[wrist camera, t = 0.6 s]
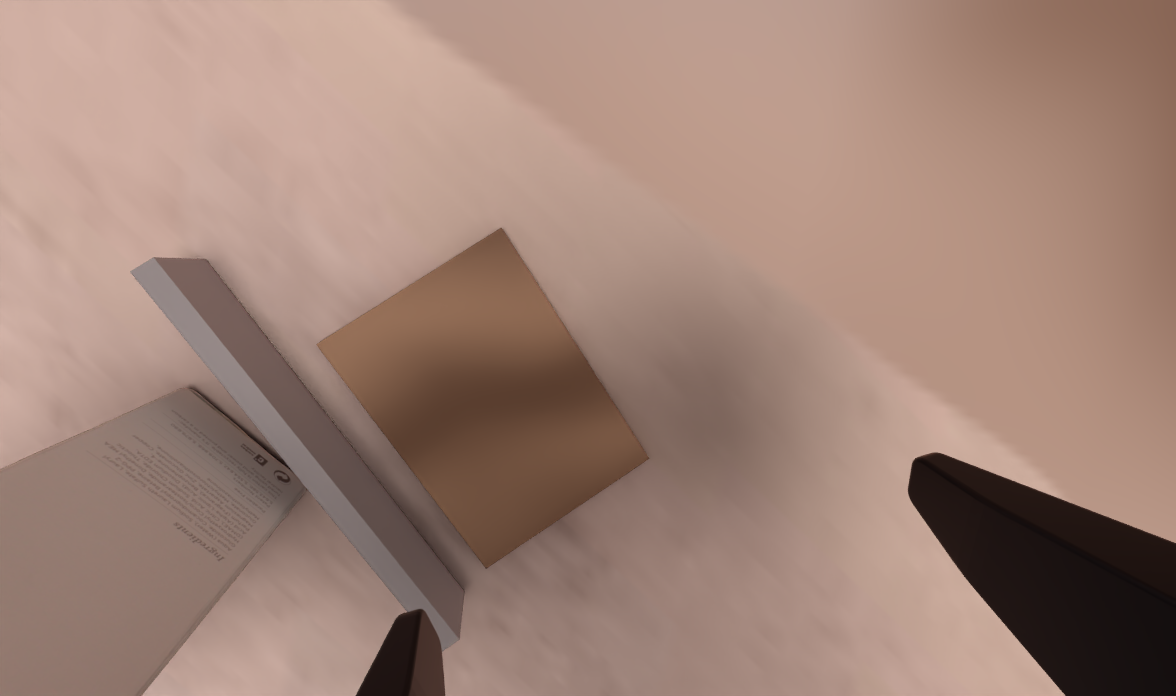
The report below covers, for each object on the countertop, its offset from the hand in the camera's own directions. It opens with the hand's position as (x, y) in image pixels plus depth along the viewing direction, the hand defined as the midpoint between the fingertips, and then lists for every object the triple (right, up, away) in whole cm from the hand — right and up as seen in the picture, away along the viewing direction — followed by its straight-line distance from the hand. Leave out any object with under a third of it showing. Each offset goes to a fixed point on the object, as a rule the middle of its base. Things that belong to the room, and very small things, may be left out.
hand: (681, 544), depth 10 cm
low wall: (-11, 0, +11) cm, 16 cm away
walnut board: (-5, +1, +12) cm, 13 cm away
